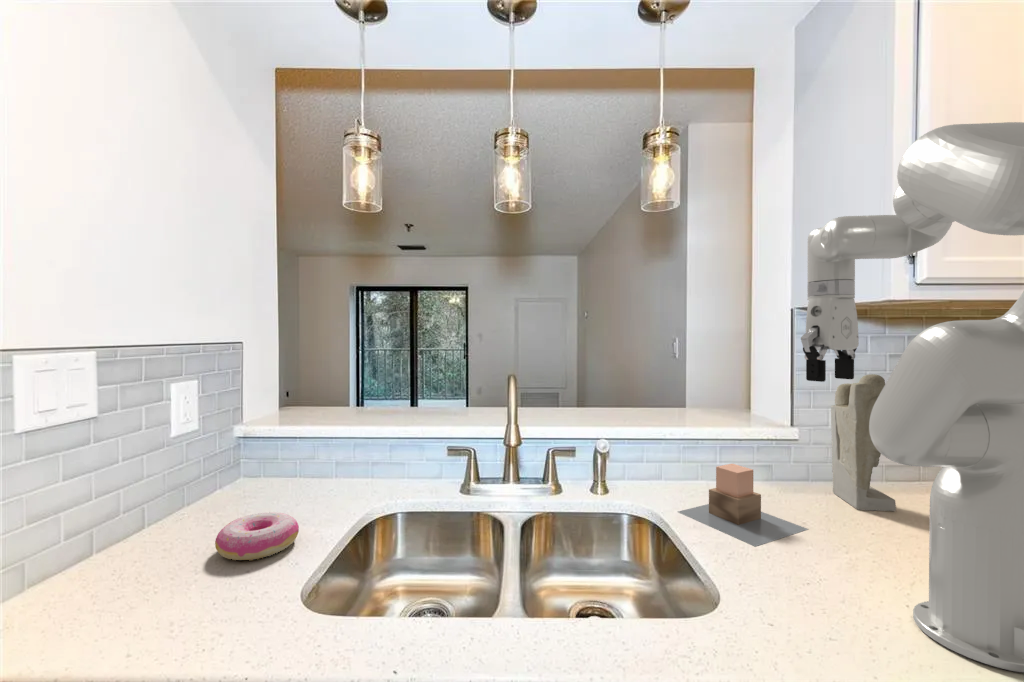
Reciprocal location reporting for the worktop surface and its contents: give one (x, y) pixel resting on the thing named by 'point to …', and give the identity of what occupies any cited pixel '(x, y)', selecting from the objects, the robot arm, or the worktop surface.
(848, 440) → the sculpture
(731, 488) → the terracotta cube
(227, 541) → the donut
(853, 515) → the worktop surface
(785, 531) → the slate board
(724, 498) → the walnut base
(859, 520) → the worktop surface
